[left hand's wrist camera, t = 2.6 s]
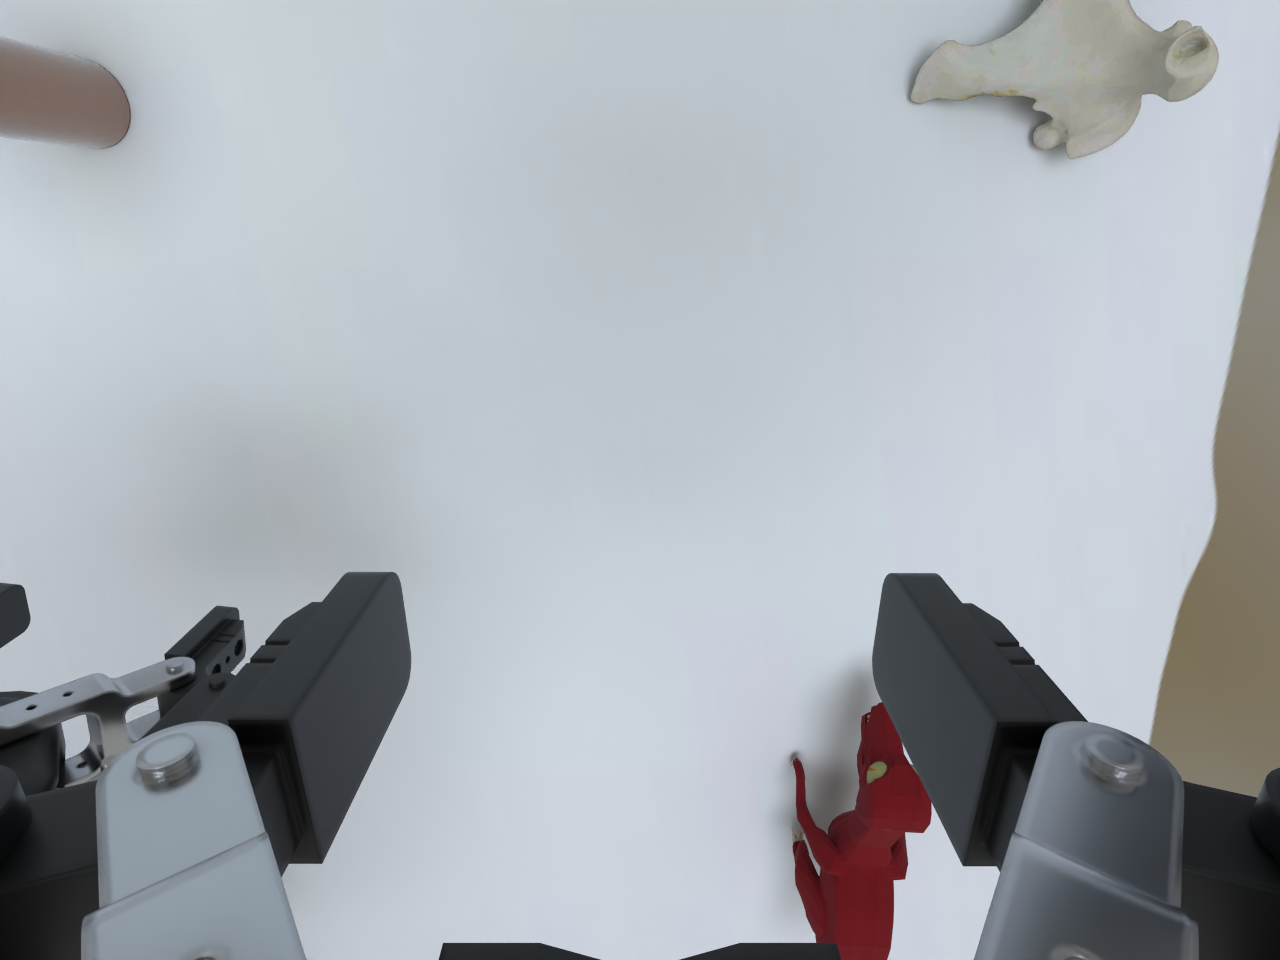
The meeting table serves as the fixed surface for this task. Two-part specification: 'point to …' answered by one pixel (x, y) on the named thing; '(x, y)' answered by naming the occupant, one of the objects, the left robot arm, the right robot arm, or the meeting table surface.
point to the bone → (1076, 69)
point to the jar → (58, 98)
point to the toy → (861, 846)
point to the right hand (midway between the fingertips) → (126, 613)
